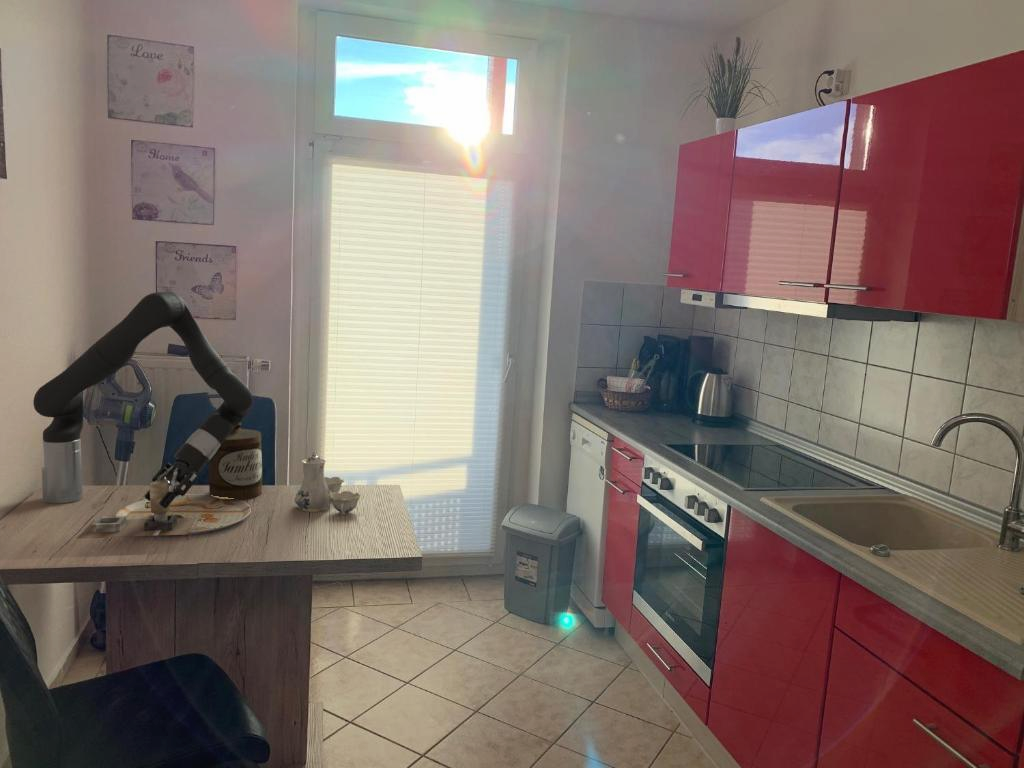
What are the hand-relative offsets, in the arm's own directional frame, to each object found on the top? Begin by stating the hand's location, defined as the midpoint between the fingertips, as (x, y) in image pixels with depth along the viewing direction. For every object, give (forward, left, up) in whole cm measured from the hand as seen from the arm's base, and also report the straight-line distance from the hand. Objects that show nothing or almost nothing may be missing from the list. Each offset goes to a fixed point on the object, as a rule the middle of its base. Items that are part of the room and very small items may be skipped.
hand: (154, 502), depth 203 cm
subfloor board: (-4, +1, -8) cm, 9 cm away
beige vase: (+1, +1, -6) cm, 6 cm away
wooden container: (+15, +36, -8) cm, 40 cm away
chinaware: (+41, +20, -8) cm, 46 cm away
